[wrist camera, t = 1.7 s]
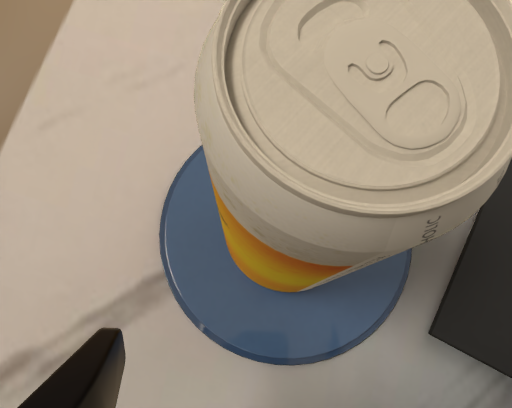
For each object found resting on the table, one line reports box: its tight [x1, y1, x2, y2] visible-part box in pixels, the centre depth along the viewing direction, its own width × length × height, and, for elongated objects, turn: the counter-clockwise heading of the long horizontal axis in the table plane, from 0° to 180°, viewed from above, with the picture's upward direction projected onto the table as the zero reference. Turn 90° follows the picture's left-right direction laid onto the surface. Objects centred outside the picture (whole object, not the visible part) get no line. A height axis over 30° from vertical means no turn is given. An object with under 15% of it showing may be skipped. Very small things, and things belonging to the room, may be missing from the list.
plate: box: [159, 145, 412, 365], centre depth 22 cm, size 13×13×1 cm
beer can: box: [194, 0, 512, 292], centre depth 14 cm, size 6×6×15 cm
